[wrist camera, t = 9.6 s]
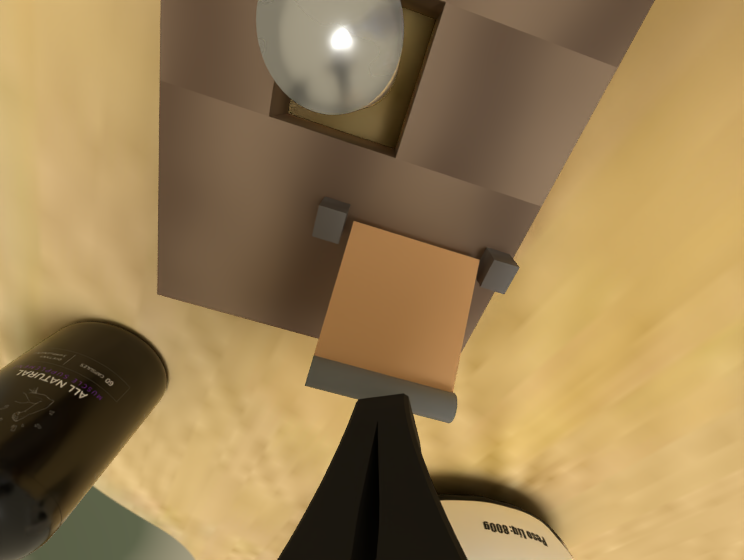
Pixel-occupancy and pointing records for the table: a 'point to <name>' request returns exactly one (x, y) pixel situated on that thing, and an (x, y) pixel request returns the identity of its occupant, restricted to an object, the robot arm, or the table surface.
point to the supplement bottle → (67, 424)
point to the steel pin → (332, 50)
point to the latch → (395, 322)
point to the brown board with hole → (368, 151)
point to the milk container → (501, 530)
